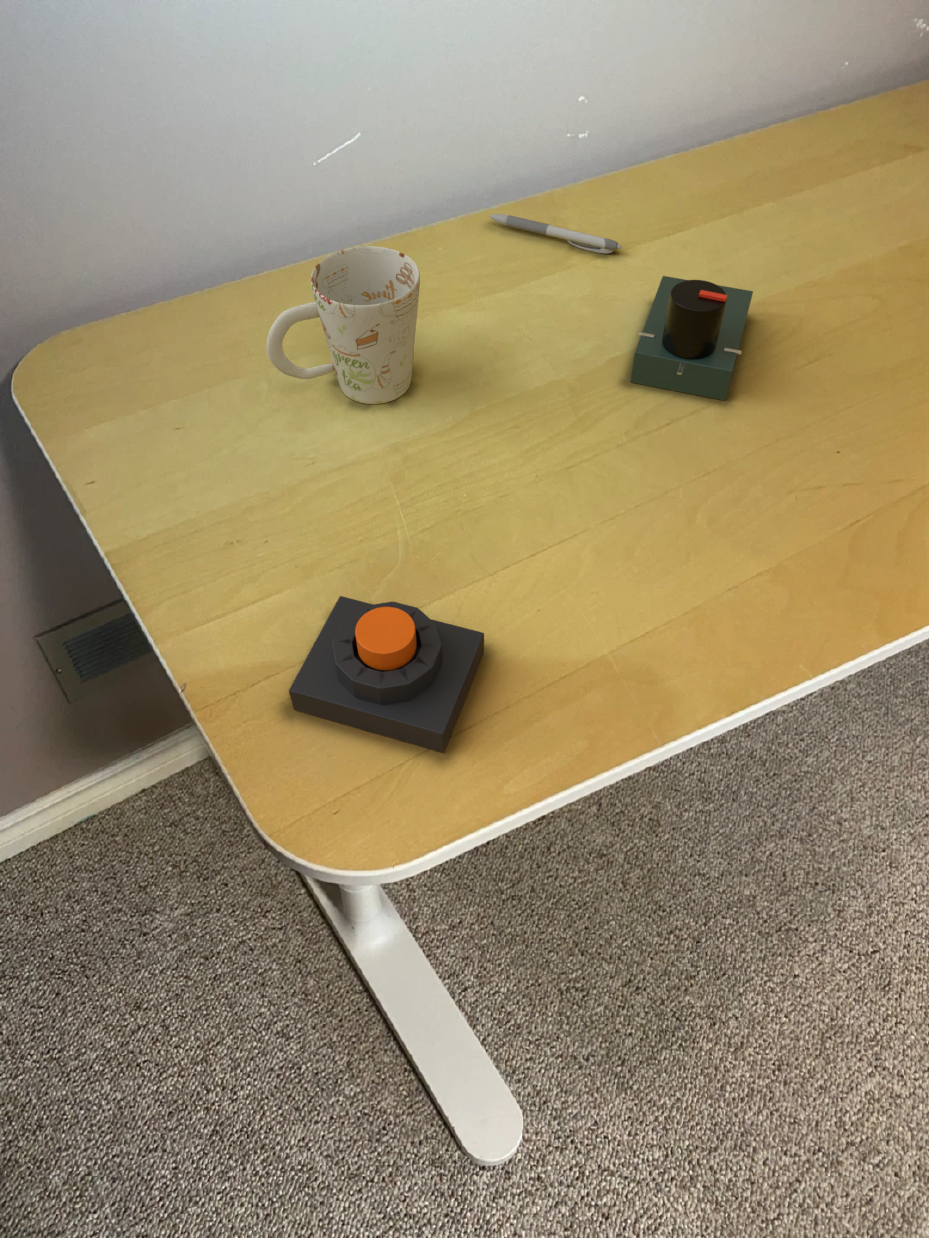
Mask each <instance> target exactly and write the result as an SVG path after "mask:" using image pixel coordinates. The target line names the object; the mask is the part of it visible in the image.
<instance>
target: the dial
mask: <svg viewBox="0 0 929 1238" xmlns="http://www.w3.org/2000/svg"><path fill="white" fill-rule="evenodd" d="M686 280H687V281H683V282H680V283H678V284H676V285H675V286H674V287H673V288H672V290H671V293H670V299H669V304H668V310H667V315H666V321H665V326H664V332H663V337H662V344H663V346H664V348H665V349H666V350H667V351H668V352H669V353H671V354H673V355H675V356H677V357H680V358H684V359H701V358H704V357H707V356H709V355H710V354H712V353H713V352H714V350H715V348H716V344H717V340H718V336H719V331H720V327H721V323H722V319H723V314H724V310H725V306H726V301H727V295H726V293H725V291H724V290H723V289H722V288H721V287H719V286H718V285H719V284H716V283H714V282H712V281H709V280H708V281H707V280H703V279H686Z"/></svg>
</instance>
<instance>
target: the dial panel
mask: <svg viewBox="0 0 929 1238" xmlns="http://www.w3.org/2000/svg"><path fill="white" fill-rule="evenodd" d="M660 279H661V280H660V282H659V285H658V288H657V291H656V293H655V296H654V299H653V302H652V304H651V307H650V309H649V312H648V315H647V318H646V320H645V323H644V326H643V329H642V332H641V331H637V333H636V336H637V337H639V340H638V342H637V344H636V347H635V351H634V354H633V361H632V366H631V373H630V379H629V382H630V383H633V384H637V385H643V386H648V387H653V388H659V389H664V390H669V391H673V392H679V393H684V394H688V395H694V396H699V397H704V398H709V399H715V400H720V401H726V399H727V395H728V392H729V388H730V384H731V381H732V376H733V373H734V368H735V365H736V360H737V356H738V355H739V356H741V355H742V353H743V351H742V350H740V345H741V341H742V337H743V333H744V329H745V325H746V321H747V316H748V313H749V309H750V305H751V302H752V298H753V294H754V291H753V290H748V289H743V288H737V287H731V286H725V285H719V284H717V285H718V286H719V287H721V288H722V289H723V290H724V291H725V293H726V295H727V301H726V306H725V310H724V314H723V319H722V323H721V327H720V331H719V336H718V340H717V344H716V348H715V350H714V352H713V353H712V354H710V355H709V356H707V357H704V358H701V359H684V358H680V357H677V356H675V355H673V354H671V353H669V352H668V351H667V350H666V349H665V348H664V346H663V344H662V337H663V332H664V326H665V321H666V315H667V310H668V304H669V299H670V293H671V290H672V288H673V287H674V286H675V285H676V284H678V283H680V282H683V281H687V280H688V279H684V278H679V277H674V276H669V275H667V276H666V275H662V277H661V278H660Z"/></svg>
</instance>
